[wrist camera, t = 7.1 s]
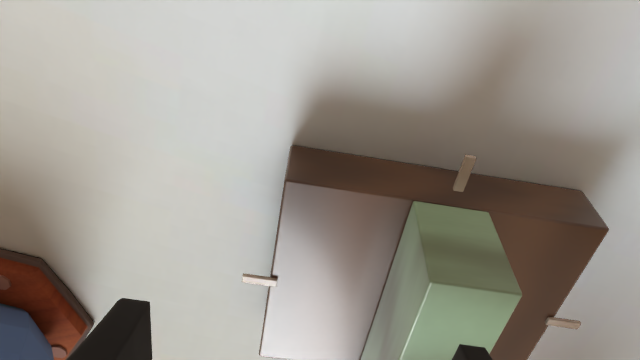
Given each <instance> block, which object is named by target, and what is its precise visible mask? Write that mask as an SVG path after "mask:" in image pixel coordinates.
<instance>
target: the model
mask: <svg viewBox="0 0 640 360" xmlns="http://www.w3.org/2000/svg"><path fill="white" fill-rule="evenodd" d="M93 325H94V322H93V321H92V320H91V318H90V317H89V316H88V315H87V313H86V312H85V311H84V309H83V308H82V307H81V305H80V304H79V303H78V301H77V300H76V299H75V297H74V296H73V295H72V293H71V292H70V291H69V290H68V289H67V287H66V286H65V285H64V284H63V283H62V282H61V281H60V279H59V278H58V277H57V276H56V275H55V274H54V273H53V271H52V270H51V269H50V268H49V267H48V266H47V264H46V263H45V262H44V261H43V260H42V259H40V258H36V257H32V256H28V255H24V254H19V253H15V252H11V251H7V250H3V249H0V360H66V359H67V358H68V357H69V356H70V355H71V354H72V353H73V352H74V351H75V350H76V349H77V348H78V346H79V345H80V344H81V343H82V342H83V341H84V339H85V338H86V336H87V334H88V333H89V331H90V330H91V328H92V327H93Z"/></svg>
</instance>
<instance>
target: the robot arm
mask: <svg viewBox="0 0 640 360" xmlns="http://www.w3.org/2000/svg"><path fill="white" fill-rule="evenodd" d="M66 360H152V344H151V321H150V302H147V301H140V300H132V299H125V298H122V299H120V300H118V301H117V302H116V304H115V305H114V306H113V307H112V308H111V310H110V311H109V312H108V313H107V315H106V316H105V317H104V318H103V319H102V320H101V322H100V323H99V324H98V325H97V326H96V327H95V329H94V330H93V331H92V332H91V333H90V334H89V335H88V336H87V338H86V339H85V340H84V341H83V342H82V343H81V344H80V345H79V346H78V348H77V349H76V350H75V351H74V352H73V353H72V354H71V355H70V356H69V357H68V358H67V359H66ZM452 360H493V359H492V358H491V356H490V354H489V353H488V351H487V350H486V348H485V347H478V346H470V345H463V344H459V346H458V348H457V350H456V352H455V354H454V356H453V358H452Z"/></svg>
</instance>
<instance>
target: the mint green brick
mask: <svg viewBox="0 0 640 360" xmlns="http://www.w3.org/2000/svg"><path fill="white" fill-rule="evenodd" d="M521 297H522V292H521V290H520V287H519V285H518V282H517V280H516V278H515V275H514V273H513V270H512V268H511V265H510V263H509V261H508V258H507V256H506V253H505V251H504V248H503V246H502V244H501V241H500V239H499V236H498V234H497V231H496V229H495V227H494V224H493V222H492V219H491V217H490V215H489V213H488V212H484V211H477V210H470V209H464V208H457V207H451V206H444V205H438V204H431V203H425V202H418V201H414V202H413V203H412V206H411V209H410V212H409V215H408V218H407V221H406V224H405V227H404V231H403V234H402V237H401V240H400V243H399V246H398V249H397V252H396V255H395V258H394V261H393V264H392V267H391V270H390V273H389V276H388V279H387V282H386V285H385V288H384V291H383V294H382V297H381V300H380V303H379V306H378V309H377V312H376V315H375V318H374V321H373V324H372V327H371V330H370V333H369V336H368V339H367V342H366V345H365V348H364V351H363V354H362V357H361V360H452V358H453V356H454V354H455V352H456V350H457V348H458V346H459V344H463V345H470V346H478V347H485V348H486V350H487V351H488V353H489V354H490V352H491V350H492V349H493V347H494V345H495V343H496V342H497V340H498V338H499V336H500V334H501V333H502V331H503V329H504V327H505V325H506V324H507V322H508V320H509V318H510V317H511V315H512V313H513V311H514V309H515V308H516V306H517V304H518V302H519V300H520V299H521Z"/></svg>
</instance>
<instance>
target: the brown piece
mask: <svg viewBox="0 0 640 360" xmlns="http://www.w3.org/2000/svg"><path fill="white" fill-rule="evenodd" d="M475 161H476V156H472V155H465V157H464V159H463V162H462V165H461V167H460V170H459V172H458V171H452V170H446V169H439V168H433V167H427V166H420V165H414V164H408V163H401V162H395V161H389V160H382V159H376V158H370V157H363V156H357V155H351V154H344V153H338V152H332V151H325V150H319V149H313V148H306V147H300V146H294V145H292V146H291V147H290V151H289V157H288V163H287V169H286V175H285V181H284V188H283V194H282V201H281V208H280V215H279V222H278V228H277V235H276V242H275V249H274V256H273V262H272V269H271V276H270V277H264V276H257V275H250V274H243V277H242V282H244V283H251V284H258V285H265V286H269V289H268V296H267V303H266V310H265V317H264V323H263V330H262V337H261V344H260V350H259V355H260V356H263V357H271V358H279V359H286V360H361V357H362V354H363V351H364V348H365V345H366V342H367V339H368V336H369V333H370V330H371V327H372V324H373V321H374V318H375V315H376V312H377V309H378V306H379V303H380V300H381V297H382V294H383V291H384V288H385V285H386V282H387V279H388V276H389V273H390V270H391V267H392V264H393V261H394V258H395V255H396V252H397V249H398V246H399V243H400V240H401V237H402V234H403V231H404V227H405V224H406V221H407V218H408V215H409V212H410V209H411V206H412V203H413V202H414V201H418V202H425V203H431V204H438V205H444V206H451V207H457V208H464V209H470V210H477V211H484V212H488V213H489V215H490V217H491V219H492V222H493V224H494V227H495V229H496V231H497V234H498V236H499V239H500V241H501V244H502V246H503V248H504V251H505V253H506V256H507V258H508V261H509V263H510V265H511V268H512V270H513V273H514V275H515V278H516V280H517V282H518V285H519V287H520V290H521V292H522V297H521V299H520V300H519V302H518V304H517V306H516V308H515V309H514V311H513V313H512V315H511V317H510V318H509V320H508V322H507V324H506V325H505V327H504V329H503V331H502V333H501V334H500V336H499V338H498V340H497V342H496V343H495V345H494V347H493V349H492V350H491V352H490V356H491V358H492V359H493V360H527V359H528V357H529V355H530V354H531V352H532V351H533V349H534V348H535V346H536V344H537V343H538V341H539V340H540V338H541V336H542V335H543V333H544V332H545V330H546V329H547V327H548V325H550V326H557V327H565V328H572V329H578V328H579V326H580V325H581V322H580V321H576V320H569V319H562V318H555V317H554V316H555V314H556V313H557V311H558V310H559V308H560V307H561V305H562V303H563V302H564V300H565V299H566V297H567V295H568V294H569V292H570V291H571V289H572V288H573V286H574V284H575V283H576V281H577V280H578V278H579V277H580V275H581V273H582V272H583V270H584V269H585V267H586V266H587V264H588V262H589V261H590V259H591V258H592V256H593V254H594V253H595V251H596V250H597V248H598V247H599V245H600V243H601V242H602V240H603V239H604V237H605V236H606V234H607V232H608V231H609V228H608V227H607V225H606V224H605V222H604V221H603V220H602V218H601V217H600V215H599V214H598V213H597V211H596V210H595V208H594V207H593V206H592V204H591V203H590V201H589V200H588V199H587V197H586V196H585V194H584V193H583V192H582V191H578V190H572V189H566V188H559V187H553V186H547V185H540V184H534V183H528V182H521V181H515V180H509V179H503V178H496V177H490V176H484V175H477V174H471V171H472V169H473V166H474V164H475Z"/></svg>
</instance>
